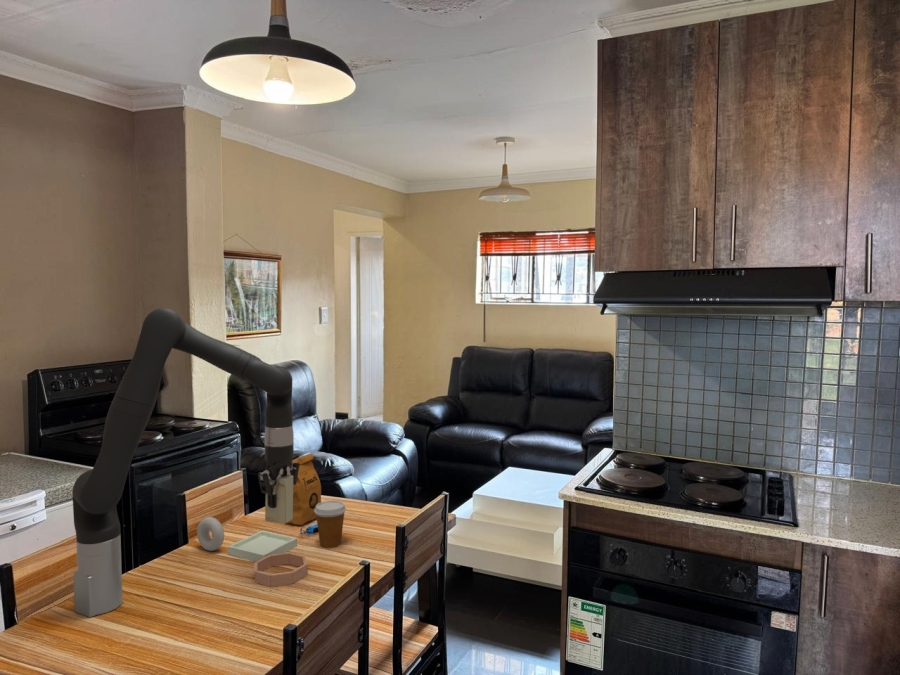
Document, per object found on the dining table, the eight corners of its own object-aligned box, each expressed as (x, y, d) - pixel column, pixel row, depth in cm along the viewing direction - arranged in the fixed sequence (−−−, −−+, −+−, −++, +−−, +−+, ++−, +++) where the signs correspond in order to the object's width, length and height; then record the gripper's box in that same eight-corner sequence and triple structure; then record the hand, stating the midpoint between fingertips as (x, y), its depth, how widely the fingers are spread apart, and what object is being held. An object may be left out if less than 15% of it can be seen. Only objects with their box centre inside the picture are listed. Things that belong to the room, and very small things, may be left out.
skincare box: (264, 521, 161) (264, 477, 160) (274, 516, 165) (273, 473, 165) (285, 524, 159) (284, 479, 159) (294, 519, 163) (293, 475, 163)
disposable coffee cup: (342, 550, 179) (342, 510, 179) (311, 549, 180) (310, 510, 179) (348, 537, 189) (348, 500, 188) (318, 537, 189) (318, 500, 188)
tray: (263, 563, 170) (263, 555, 170) (227, 554, 176) (227, 546, 176) (297, 545, 182) (297, 538, 182) (262, 537, 189) (262, 530, 189)
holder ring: (282, 590, 154) (282, 578, 154) (243, 579, 160) (243, 568, 160) (316, 569, 166) (316, 558, 166) (279, 560, 172) (279, 549, 172)
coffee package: (326, 517, 207) (325, 454, 206) (301, 528, 197) (300, 462, 195) (304, 512, 212) (303, 451, 211) (278, 523, 201) (277, 458, 200)
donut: (227, 551, 178) (226, 518, 178) (217, 555, 175) (216, 522, 175) (204, 545, 183) (203, 512, 183) (194, 549, 180) (194, 516, 180)
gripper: (270, 449, 153) (271, 515, 154) (307, 438, 166) (307, 499, 167) (248, 446, 157) (249, 510, 157) (286, 436, 169) (287, 495, 170)
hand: (279, 504), depth 162 cm, fingers closed on skincare box, 4 cm apart
